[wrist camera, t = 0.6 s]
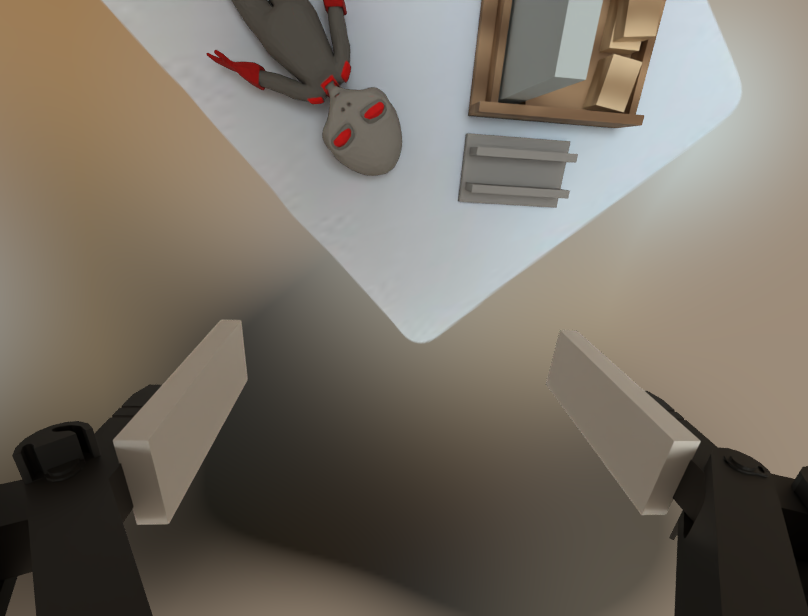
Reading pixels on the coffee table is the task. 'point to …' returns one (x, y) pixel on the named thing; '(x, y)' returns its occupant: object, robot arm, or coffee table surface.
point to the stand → (513, 170)
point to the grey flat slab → (547, 46)
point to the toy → (321, 79)
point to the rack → (553, 105)
